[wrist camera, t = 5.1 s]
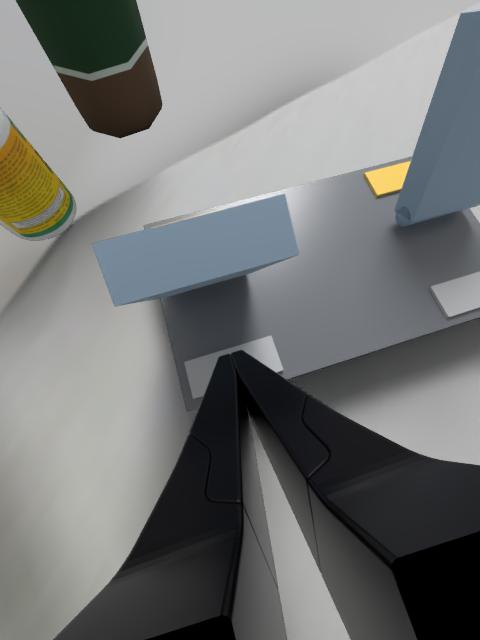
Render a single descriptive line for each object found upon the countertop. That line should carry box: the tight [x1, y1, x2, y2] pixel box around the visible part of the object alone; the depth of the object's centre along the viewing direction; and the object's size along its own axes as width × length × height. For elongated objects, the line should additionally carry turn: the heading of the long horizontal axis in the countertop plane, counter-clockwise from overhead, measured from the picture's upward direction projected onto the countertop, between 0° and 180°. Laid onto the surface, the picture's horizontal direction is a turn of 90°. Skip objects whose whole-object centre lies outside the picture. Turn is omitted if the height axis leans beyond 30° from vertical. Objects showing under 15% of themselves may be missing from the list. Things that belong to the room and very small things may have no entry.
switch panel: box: [143, 156, 480, 411], centre depth 17 cm, size 12×21×3 cm, turn 107°
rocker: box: [92, 194, 299, 307], centre depth 11 cm, size 2×5×9 cm, turn 107°
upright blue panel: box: [394, 9, 480, 227], centre depth 13 cm, size 2×5×9 cm, turn 107°
